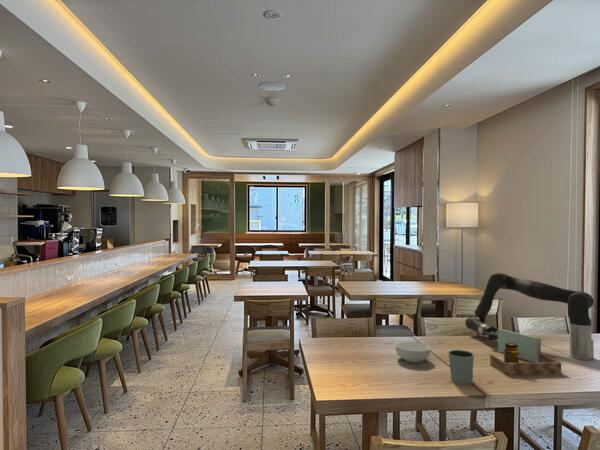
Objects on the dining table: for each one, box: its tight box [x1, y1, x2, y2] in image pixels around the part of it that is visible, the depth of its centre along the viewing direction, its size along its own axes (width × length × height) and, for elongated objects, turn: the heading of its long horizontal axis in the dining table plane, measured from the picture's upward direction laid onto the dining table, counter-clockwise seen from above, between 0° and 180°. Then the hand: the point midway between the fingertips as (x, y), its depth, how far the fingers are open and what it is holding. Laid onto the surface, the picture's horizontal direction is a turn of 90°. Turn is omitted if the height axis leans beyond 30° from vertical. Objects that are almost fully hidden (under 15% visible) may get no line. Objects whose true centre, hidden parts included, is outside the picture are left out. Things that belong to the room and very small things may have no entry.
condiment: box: [503, 343, 520, 363], centre depth 188 cm, size 7×8×12 cm
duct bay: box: [489, 353, 562, 376], centre depth 188 cm, size 26×13×5 cm, turn 92°
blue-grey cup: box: [448, 349, 475, 386], centre depth 174 cm, size 10×10×12 cm
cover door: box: [497, 328, 542, 363], centre depth 205 cm, size 22×1×13 cm, turn 28°
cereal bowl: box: [395, 341, 432, 364], centre depth 201 cm, size 17×17×7 cm
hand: (504, 339), depth 213 cm, fingers closed
